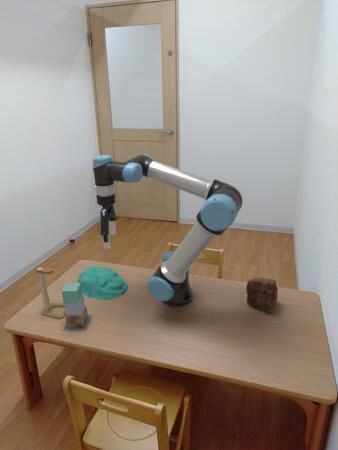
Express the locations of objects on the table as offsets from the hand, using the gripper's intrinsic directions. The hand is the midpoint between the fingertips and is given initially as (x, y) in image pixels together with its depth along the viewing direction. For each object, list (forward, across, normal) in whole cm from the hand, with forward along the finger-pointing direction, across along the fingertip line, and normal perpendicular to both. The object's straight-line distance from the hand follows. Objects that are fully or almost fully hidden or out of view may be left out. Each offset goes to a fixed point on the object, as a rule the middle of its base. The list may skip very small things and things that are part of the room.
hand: (110, 241), depth 144 cm
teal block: (+19, +15, -14) cm, 28 cm away
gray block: (+25, +15, -14) cm, 32 cm away
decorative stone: (+32, -12, -10) cm, 36 cm away
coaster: (+32, +15, -14) cm, 38 cm away
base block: (+31, +15, -14) cm, 37 cm away
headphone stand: (+32, +7, -26) cm, 42 cm away
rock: (+32, +4, +66) cm, 73 cm away
